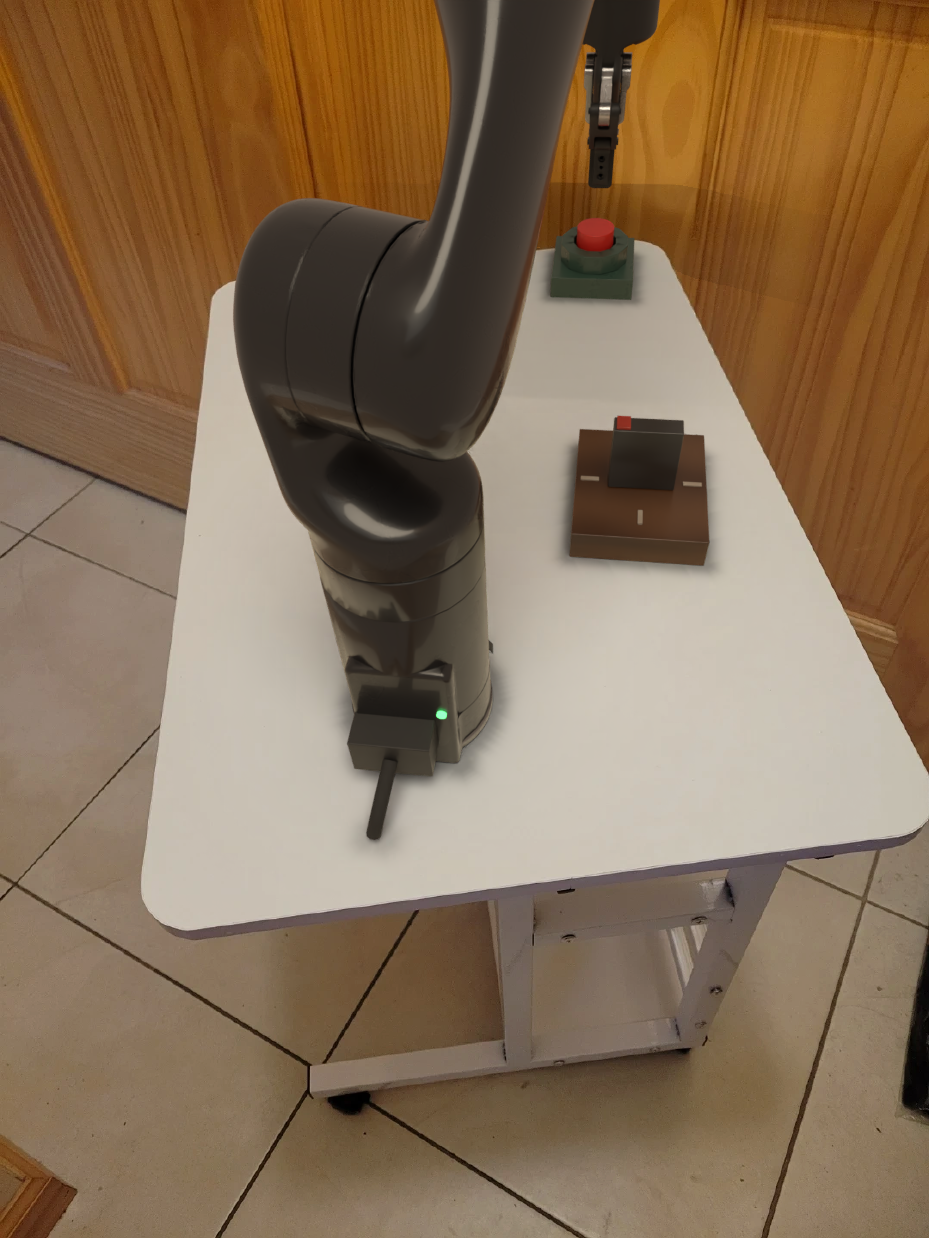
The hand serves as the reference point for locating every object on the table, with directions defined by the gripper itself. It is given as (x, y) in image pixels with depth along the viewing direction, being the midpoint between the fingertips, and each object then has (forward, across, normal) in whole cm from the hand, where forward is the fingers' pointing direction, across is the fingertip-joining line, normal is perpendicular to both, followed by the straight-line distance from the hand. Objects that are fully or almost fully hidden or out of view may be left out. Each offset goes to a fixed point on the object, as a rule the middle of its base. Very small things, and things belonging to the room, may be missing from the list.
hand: (599, 184), depth 84 cm
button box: (+10, 0, 0) cm, 10 cm away
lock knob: (+7, -33, -5) cm, 34 cm away
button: (+6, 0, 0) cm, 6 cm away
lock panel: (+9, -33, -5) cm, 35 cm away
